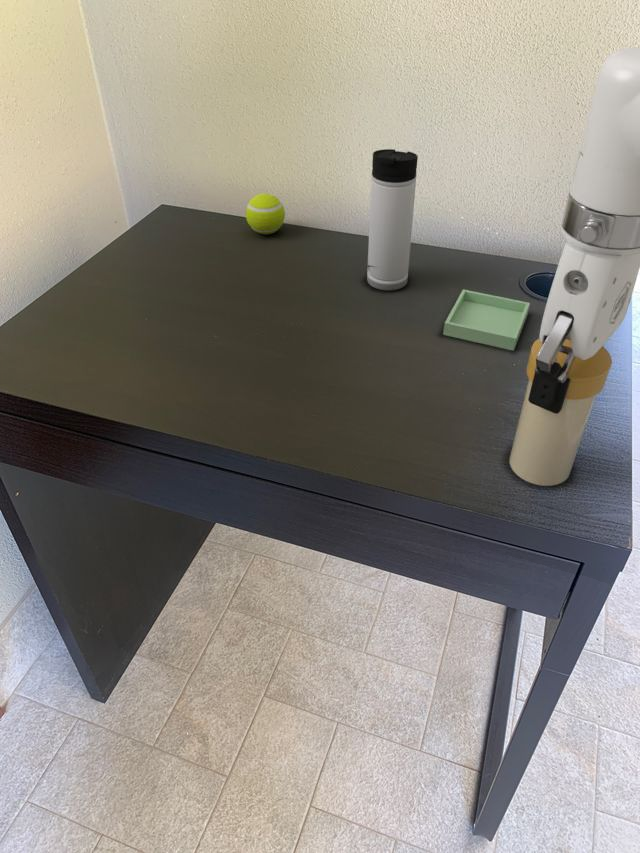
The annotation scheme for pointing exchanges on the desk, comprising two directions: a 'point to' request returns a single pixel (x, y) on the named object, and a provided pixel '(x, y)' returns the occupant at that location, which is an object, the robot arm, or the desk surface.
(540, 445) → the jar
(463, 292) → the tray
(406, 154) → the travel mug
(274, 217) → the tennis ball
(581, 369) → the lid
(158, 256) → the desk surface
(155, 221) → the desk surface
